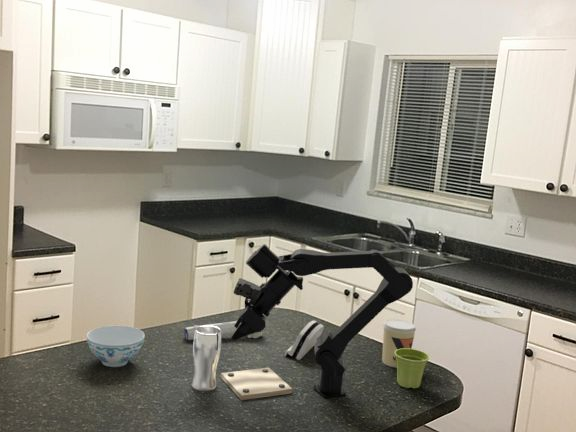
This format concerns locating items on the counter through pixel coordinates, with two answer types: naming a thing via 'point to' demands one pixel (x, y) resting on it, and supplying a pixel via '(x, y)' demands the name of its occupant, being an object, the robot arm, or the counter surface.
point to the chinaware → (115, 344)
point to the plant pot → (410, 367)
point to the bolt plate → (255, 383)
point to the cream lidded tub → (396, 339)
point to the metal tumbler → (206, 357)
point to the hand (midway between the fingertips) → (234, 333)
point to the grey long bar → (225, 327)
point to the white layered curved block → (305, 340)
